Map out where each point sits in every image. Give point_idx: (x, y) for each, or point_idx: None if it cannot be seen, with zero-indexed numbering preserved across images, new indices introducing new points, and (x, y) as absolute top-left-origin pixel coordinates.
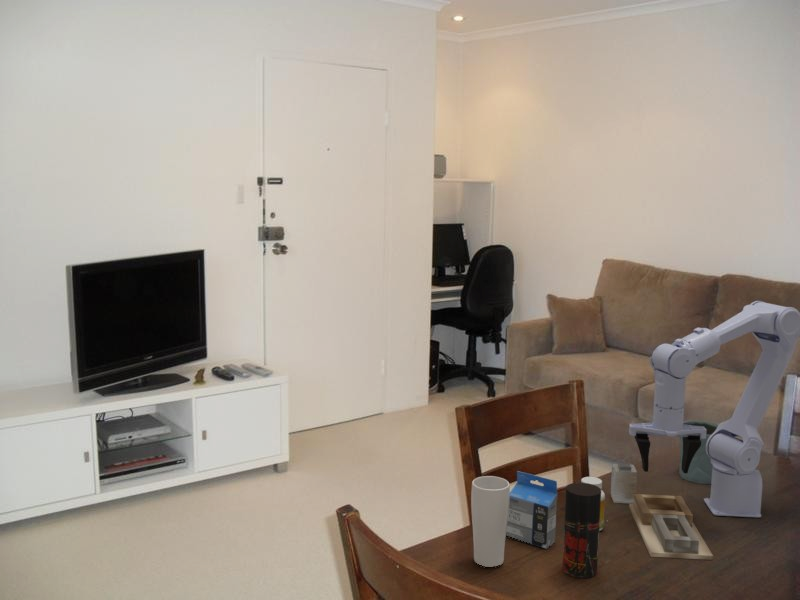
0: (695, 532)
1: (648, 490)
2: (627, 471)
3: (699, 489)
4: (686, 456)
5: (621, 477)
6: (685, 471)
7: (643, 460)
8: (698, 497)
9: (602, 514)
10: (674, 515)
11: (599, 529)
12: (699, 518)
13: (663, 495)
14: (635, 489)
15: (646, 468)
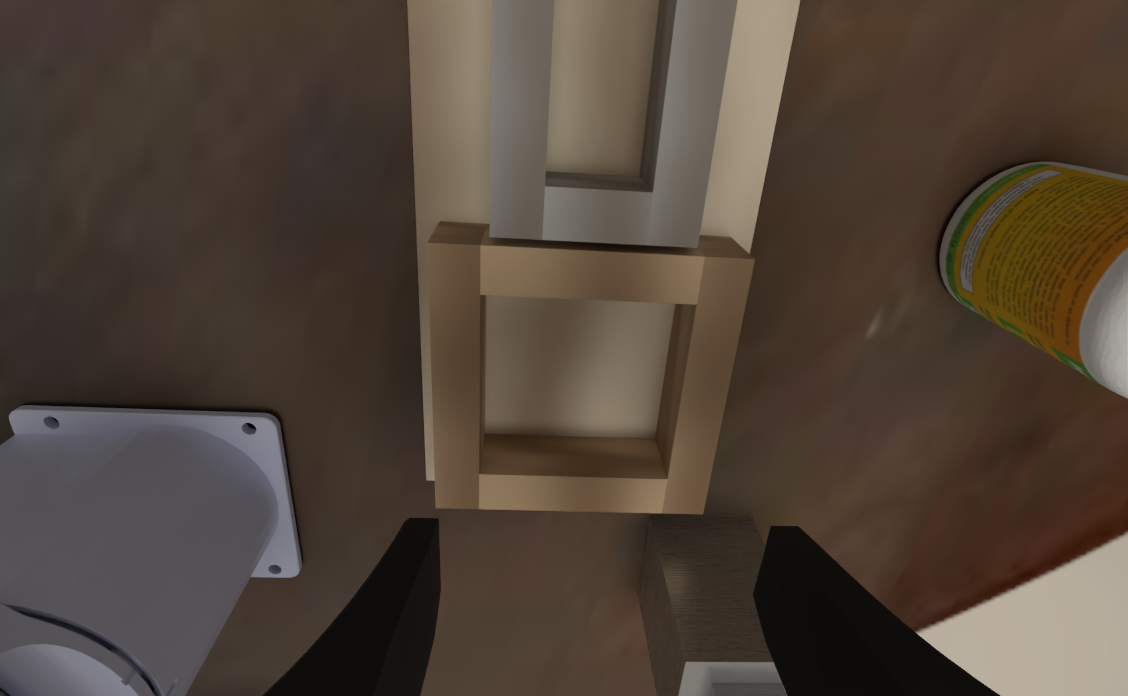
0: (435, 150)
1: (542, 640)
2: (743, 666)
3: None
4: (391, 667)
5: None
6: (424, 527)
7: (881, 607)
8: (322, 596)
9: (1045, 211)
10: (555, 234)
11: (999, 176)
12: (363, 381)
13: (538, 509)
14: (667, 572)
15: (803, 543)
